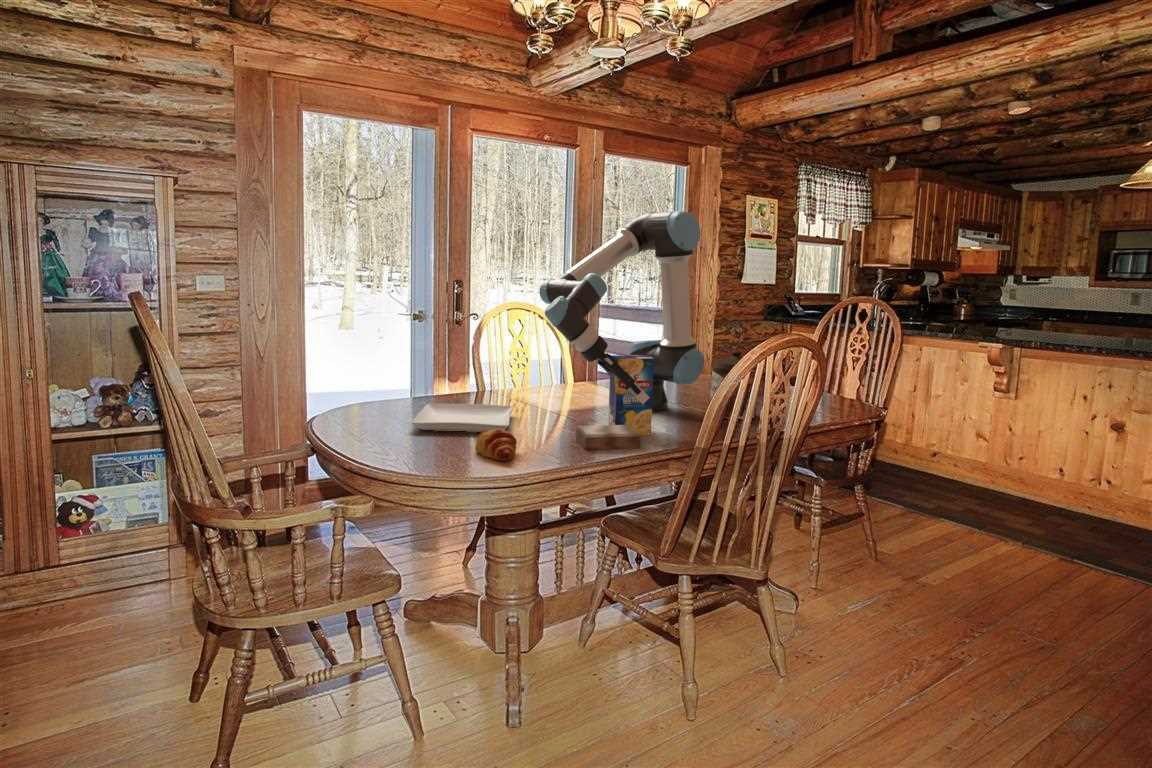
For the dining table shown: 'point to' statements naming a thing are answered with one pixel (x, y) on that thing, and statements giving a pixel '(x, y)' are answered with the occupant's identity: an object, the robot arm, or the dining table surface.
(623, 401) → the beverage box
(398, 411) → the dining table surface
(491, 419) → the square plate
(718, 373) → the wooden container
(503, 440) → the croissant
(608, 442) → the base block
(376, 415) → the dining table surface
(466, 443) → the dining table surface
